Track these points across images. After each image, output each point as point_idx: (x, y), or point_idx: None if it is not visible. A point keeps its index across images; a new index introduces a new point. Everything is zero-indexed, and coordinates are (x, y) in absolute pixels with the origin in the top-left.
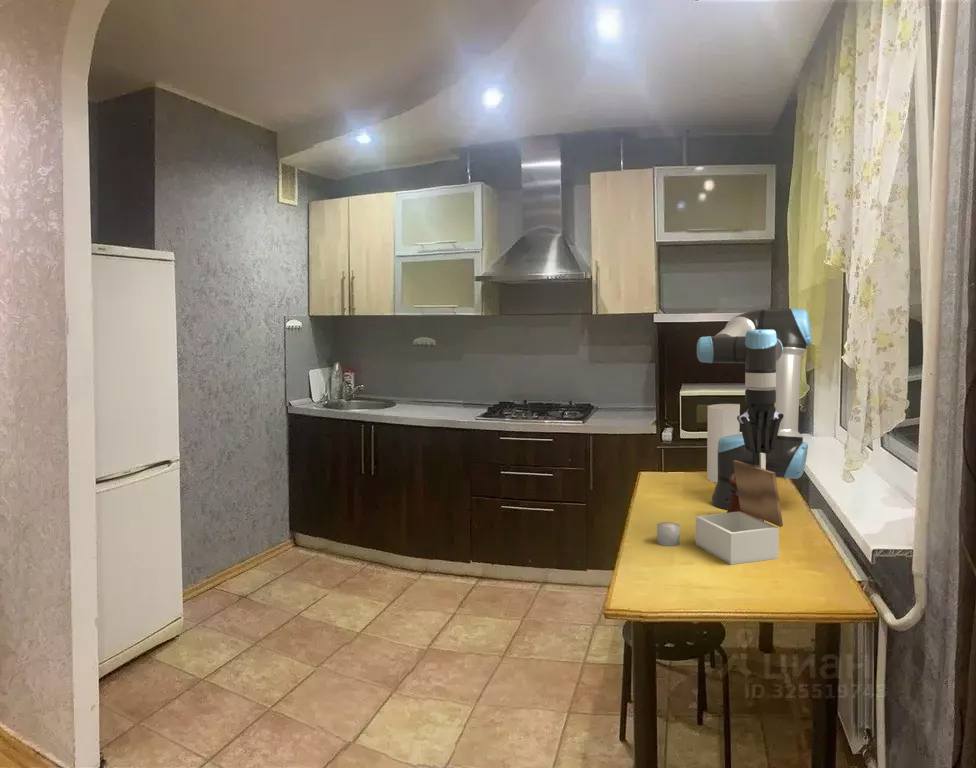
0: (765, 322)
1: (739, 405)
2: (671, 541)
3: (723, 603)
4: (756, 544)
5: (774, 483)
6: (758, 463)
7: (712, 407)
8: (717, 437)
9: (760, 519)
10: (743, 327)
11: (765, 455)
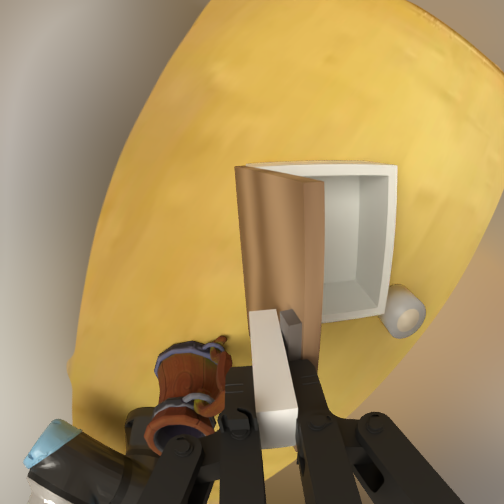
0: None
1: None
2: (403, 288)
3: (441, 42)
4: (314, 162)
5: (293, 175)
6: (294, 368)
7: None
8: None
9: (168, 355)
10: None
11: (257, 400)
